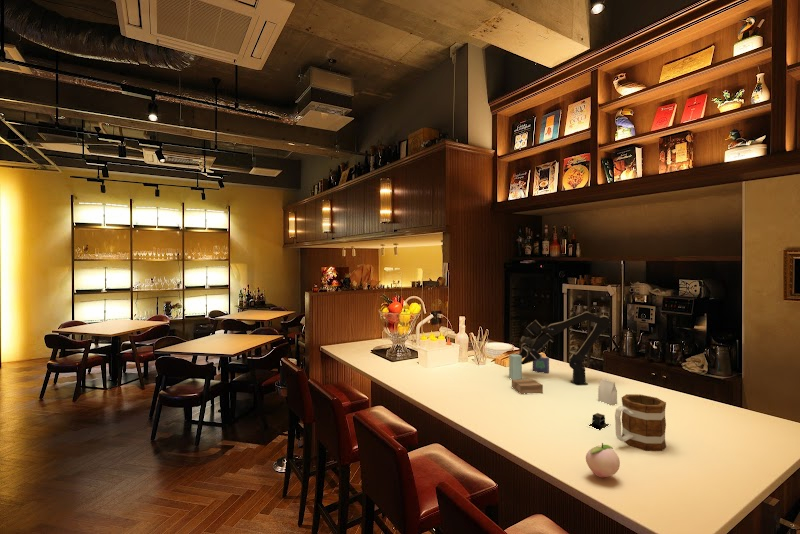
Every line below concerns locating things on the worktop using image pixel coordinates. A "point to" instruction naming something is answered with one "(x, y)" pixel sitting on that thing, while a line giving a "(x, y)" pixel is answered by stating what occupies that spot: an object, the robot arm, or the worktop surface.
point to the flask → (541, 365)
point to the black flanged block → (598, 421)
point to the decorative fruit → (603, 460)
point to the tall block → (515, 366)
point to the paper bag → (607, 392)
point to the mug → (641, 422)
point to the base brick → (527, 386)
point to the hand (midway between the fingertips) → (519, 361)
